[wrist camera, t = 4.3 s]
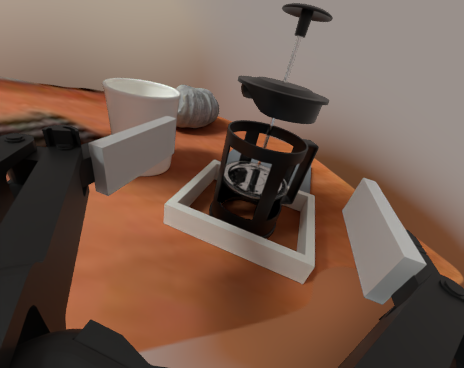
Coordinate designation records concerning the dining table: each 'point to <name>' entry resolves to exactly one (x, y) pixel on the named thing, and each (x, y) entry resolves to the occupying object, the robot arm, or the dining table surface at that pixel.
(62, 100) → the dining table surface
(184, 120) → the seashell
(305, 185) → the slate mat
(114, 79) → the candle holder
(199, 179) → the holder frame
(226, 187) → the french press
